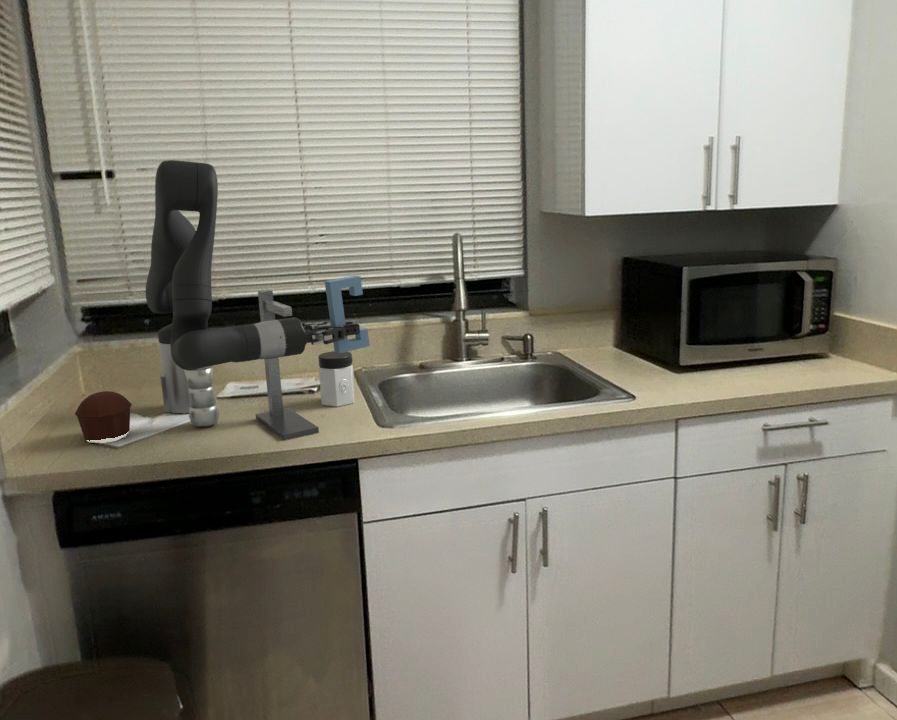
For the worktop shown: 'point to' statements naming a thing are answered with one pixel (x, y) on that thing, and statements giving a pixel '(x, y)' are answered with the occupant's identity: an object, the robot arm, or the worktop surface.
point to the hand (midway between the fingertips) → (355, 327)
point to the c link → (337, 311)
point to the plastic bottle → (202, 397)
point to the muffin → (104, 415)
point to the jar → (336, 378)
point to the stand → (279, 383)
